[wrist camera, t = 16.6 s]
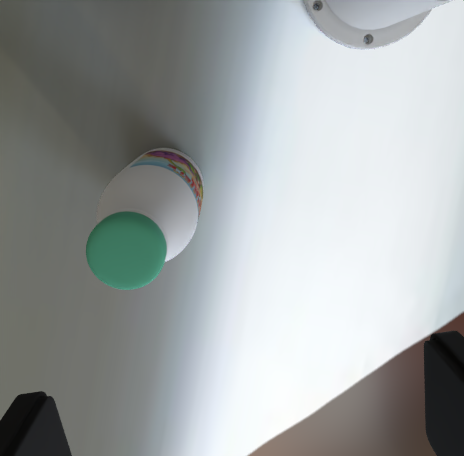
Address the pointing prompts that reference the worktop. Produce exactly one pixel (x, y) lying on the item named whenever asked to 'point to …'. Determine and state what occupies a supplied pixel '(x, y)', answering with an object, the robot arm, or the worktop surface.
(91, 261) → the milk bottle
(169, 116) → the worktop surface
